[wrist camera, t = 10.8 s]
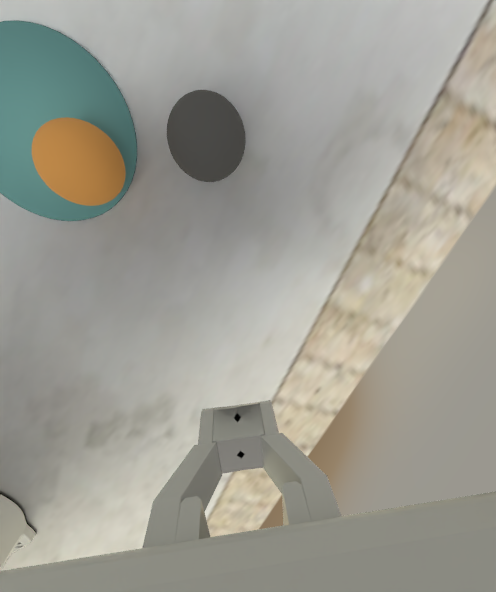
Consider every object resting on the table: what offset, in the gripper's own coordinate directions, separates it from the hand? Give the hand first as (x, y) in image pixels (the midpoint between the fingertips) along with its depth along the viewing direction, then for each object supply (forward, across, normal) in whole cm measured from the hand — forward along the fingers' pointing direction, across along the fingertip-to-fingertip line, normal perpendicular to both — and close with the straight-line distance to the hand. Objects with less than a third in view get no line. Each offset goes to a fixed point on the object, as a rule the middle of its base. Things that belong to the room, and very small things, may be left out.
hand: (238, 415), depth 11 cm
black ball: (+13, 0, -13) cm, 18 cm away
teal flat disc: (+16, +13, -14) cm, 25 cm away
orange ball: (+13, +10, -12) cm, 20 cm away
